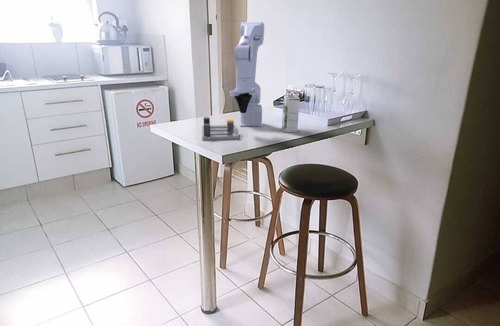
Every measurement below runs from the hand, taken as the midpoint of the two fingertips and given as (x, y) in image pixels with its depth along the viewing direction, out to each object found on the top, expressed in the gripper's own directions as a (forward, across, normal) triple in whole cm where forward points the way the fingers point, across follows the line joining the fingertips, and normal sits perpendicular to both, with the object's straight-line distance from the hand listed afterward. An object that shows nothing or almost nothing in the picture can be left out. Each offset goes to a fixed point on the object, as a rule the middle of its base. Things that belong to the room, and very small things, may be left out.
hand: (243, 112), depth 144 cm
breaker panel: (+8, +7, -7) cm, 13 cm away
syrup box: (+9, -16, +12) cm, 22 cm away
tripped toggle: (+7, +4, -4) cm, 9 cm away
